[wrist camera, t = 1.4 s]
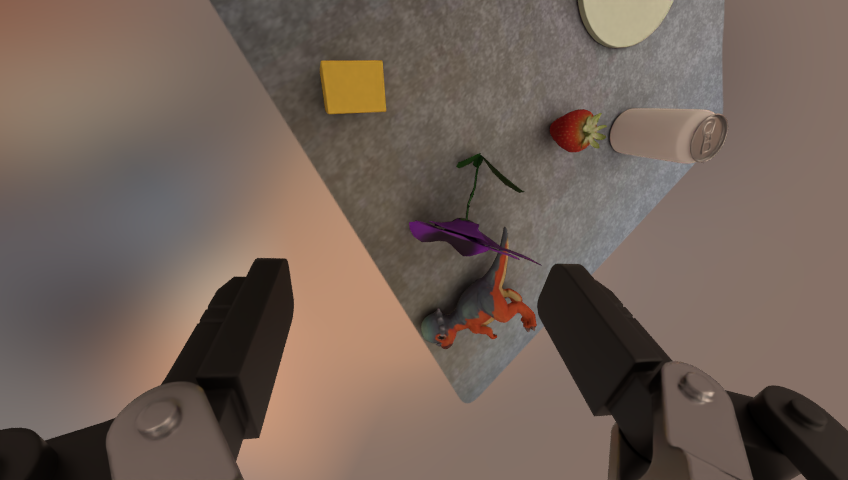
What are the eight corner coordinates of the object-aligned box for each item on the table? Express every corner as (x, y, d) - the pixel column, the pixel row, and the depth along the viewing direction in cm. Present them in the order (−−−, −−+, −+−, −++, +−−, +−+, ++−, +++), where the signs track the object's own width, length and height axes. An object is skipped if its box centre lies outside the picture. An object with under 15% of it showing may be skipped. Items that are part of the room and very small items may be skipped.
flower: (410, 149, 45) (385, 240, 43) (473, 99, 32) (443, 227, 29) (490, 187, 51) (473, 269, 49) (571, 159, 38) (554, 269, 35)
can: (643, 102, 48) (735, 102, 38) (642, 145, 51) (726, 156, 41) (607, 115, 47) (691, 119, 37) (608, 158, 50) (685, 173, 40)
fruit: (573, 137, 47) (618, 143, 40) (542, 154, 46) (582, 163, 39) (566, 102, 44) (613, 102, 37) (533, 120, 44) (574, 123, 37)
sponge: (319, 71, 35) (320, 60, 26) (366, 70, 36) (382, 60, 27) (325, 111, 36) (328, 114, 27) (369, 109, 37) (386, 111, 29)
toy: (505, 362, 52) (415, 346, 50) (498, 306, 59) (420, 289, 57) (574, 301, 39) (456, 275, 37) (554, 239, 47) (455, 213, 44)
